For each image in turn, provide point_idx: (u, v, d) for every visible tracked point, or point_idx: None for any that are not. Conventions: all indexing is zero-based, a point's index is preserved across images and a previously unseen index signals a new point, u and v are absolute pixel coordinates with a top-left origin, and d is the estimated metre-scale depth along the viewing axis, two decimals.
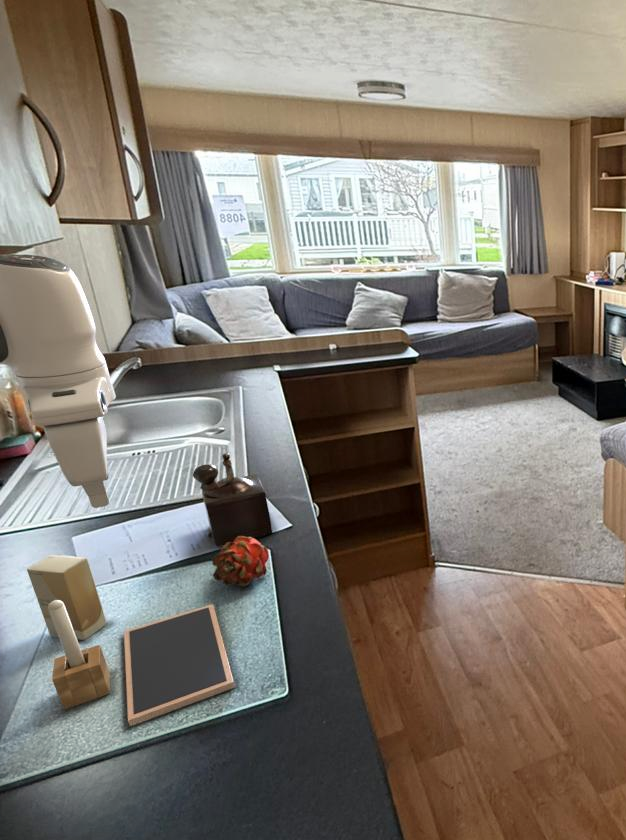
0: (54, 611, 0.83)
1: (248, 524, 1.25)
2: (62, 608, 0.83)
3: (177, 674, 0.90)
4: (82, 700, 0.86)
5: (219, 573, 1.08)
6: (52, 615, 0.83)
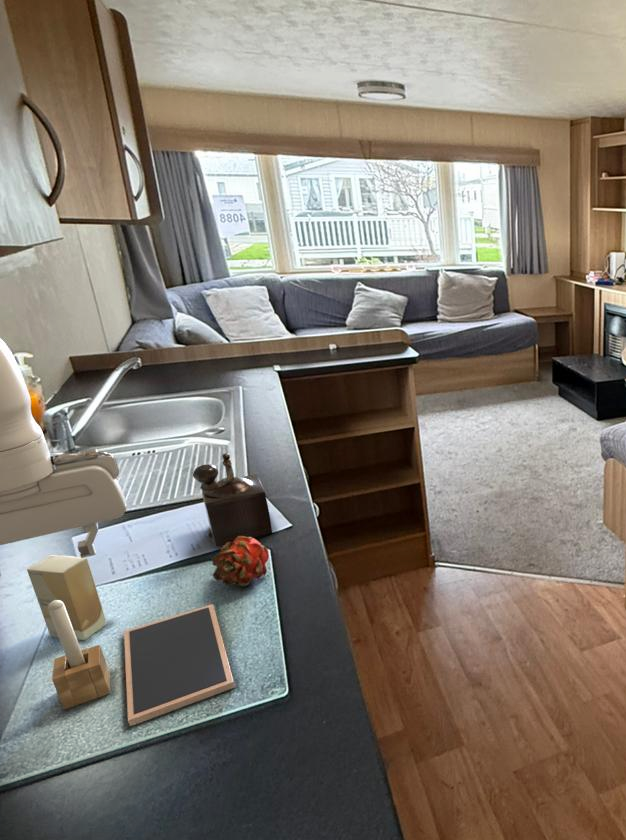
0: (54, 611, 0.83)
1: (248, 524, 1.25)
2: (62, 608, 0.83)
3: (177, 674, 0.90)
4: (82, 700, 0.86)
5: (219, 573, 1.08)
6: (52, 615, 0.83)
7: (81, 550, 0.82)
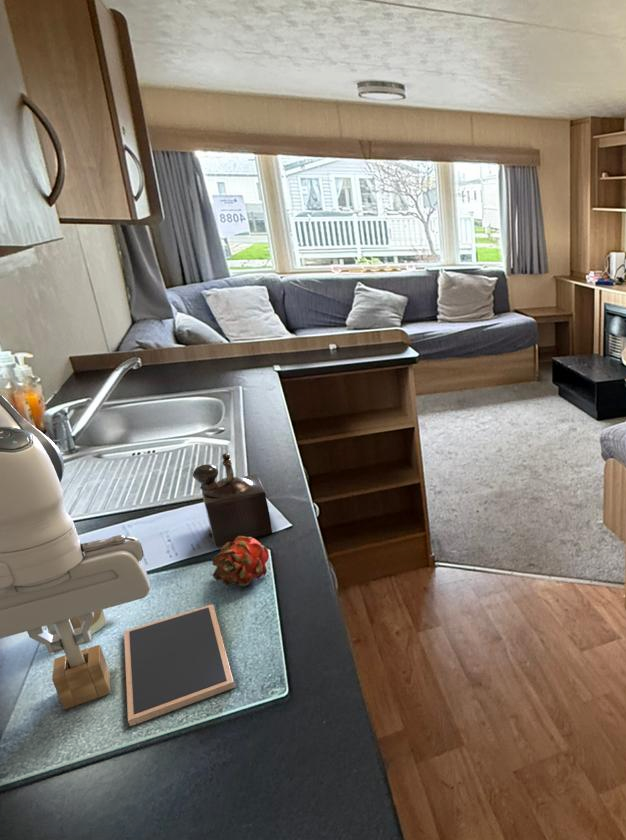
0: None
1: (248, 524, 1.25)
2: None
3: (177, 674, 0.90)
4: (82, 700, 0.86)
5: (219, 573, 1.08)
6: None
7: (77, 638, 0.85)
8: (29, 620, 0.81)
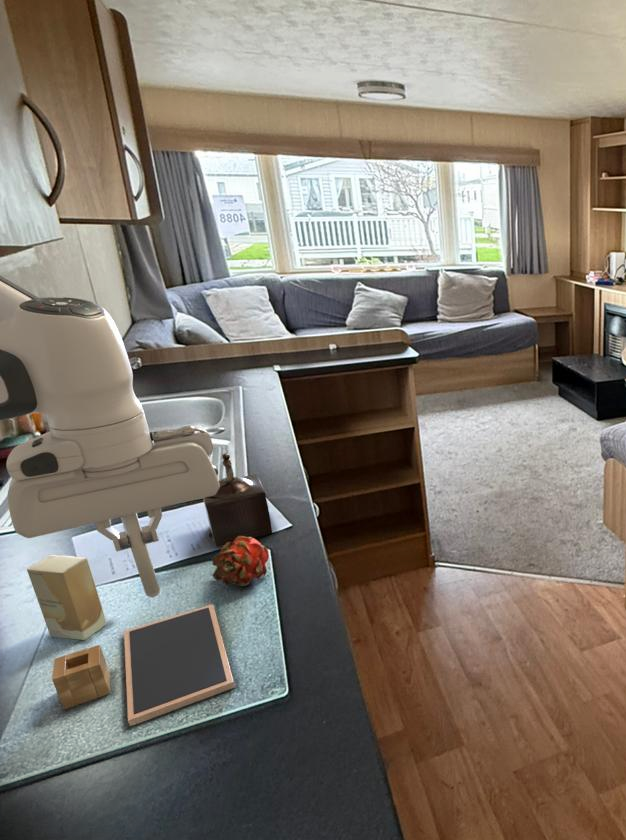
0: None
1: (248, 524, 1.25)
2: None
3: (177, 674, 0.90)
4: (82, 700, 0.86)
5: (219, 573, 1.08)
6: None
7: (145, 536, 0.80)
8: (97, 511, 0.75)
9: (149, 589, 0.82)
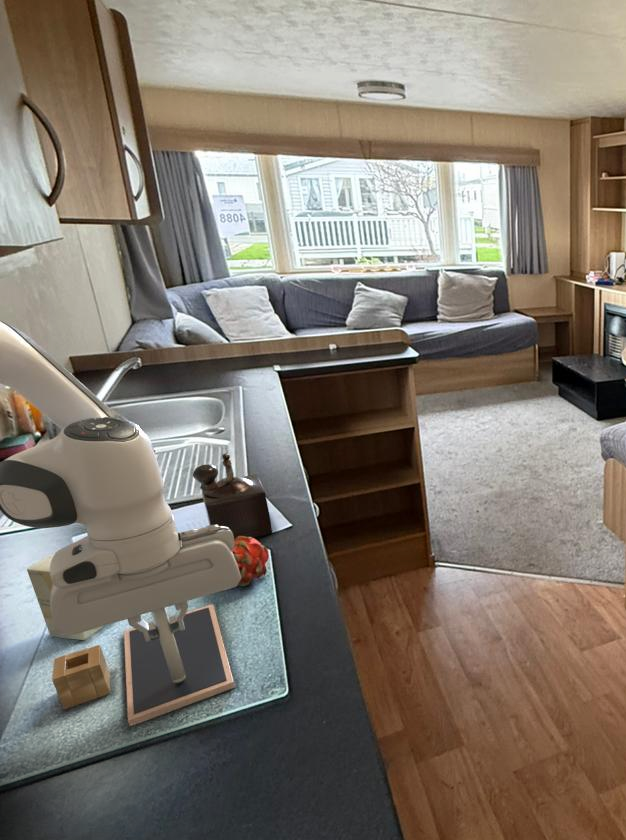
0: None
1: (248, 524, 1.25)
2: None
3: None
4: (82, 700, 0.86)
5: None
6: None
7: (172, 626, 0.86)
8: (130, 608, 0.82)
9: (175, 675, 0.87)
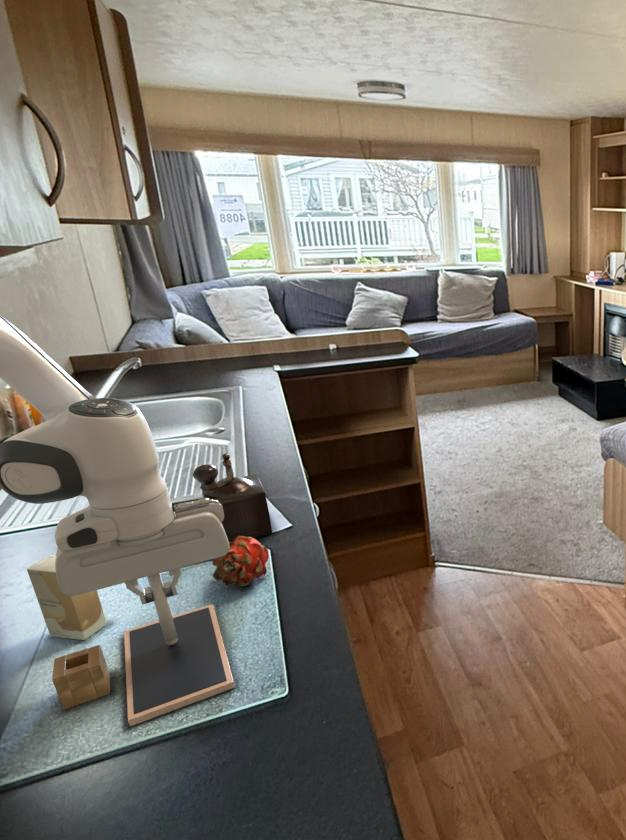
0: None
1: (248, 524, 1.25)
2: None
3: (177, 674, 0.90)
4: (82, 700, 0.86)
5: (219, 573, 1.08)
6: None
7: (166, 591, 0.94)
8: (128, 572, 0.90)
9: (168, 637, 0.95)
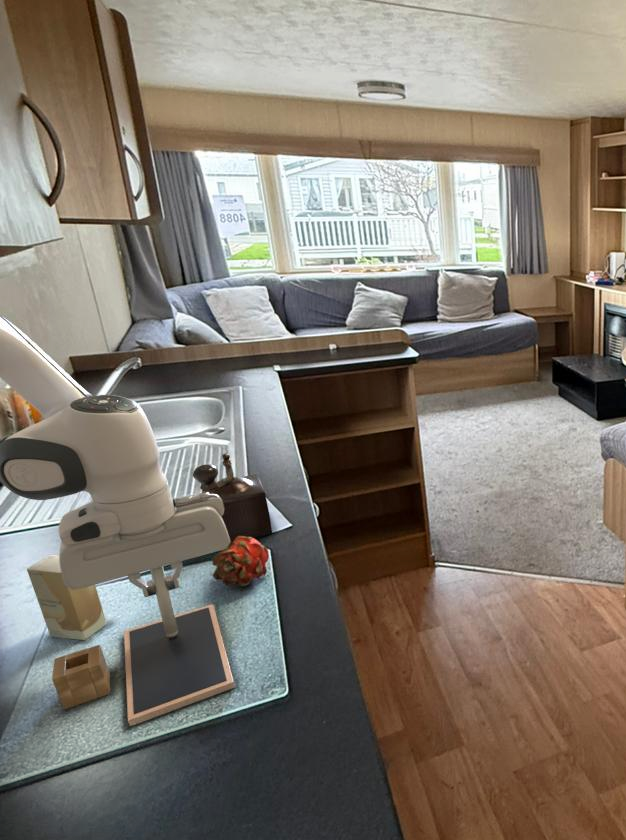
0: None
1: (248, 524, 1.25)
2: None
3: (177, 674, 0.90)
4: (82, 700, 0.86)
5: (219, 573, 1.08)
6: None
7: (168, 584, 0.96)
8: (130, 566, 0.92)
9: (169, 629, 0.96)
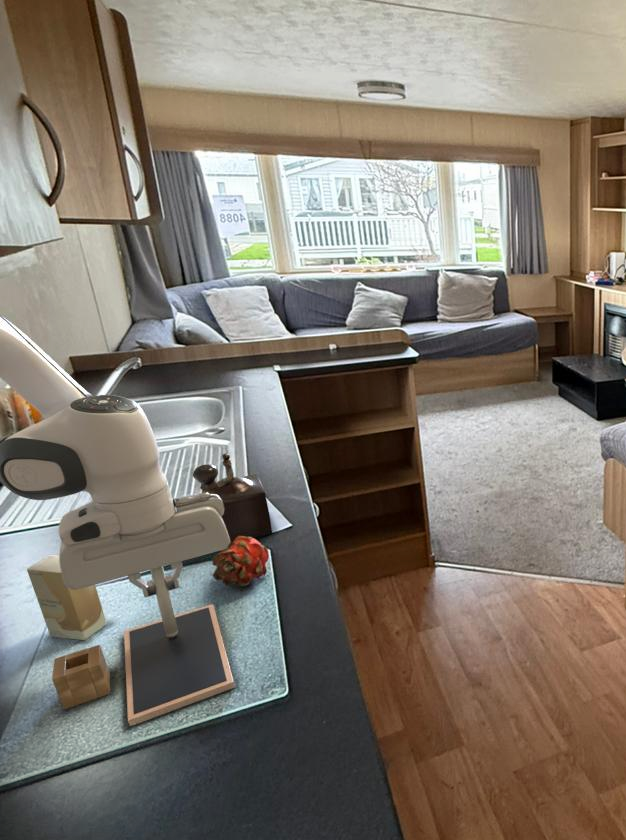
0: None
1: (248, 524, 1.25)
2: None
3: (177, 674, 0.90)
4: (82, 700, 0.86)
5: (219, 573, 1.08)
6: None
7: (168, 584, 0.96)
8: (130, 566, 0.92)
9: (169, 629, 0.96)
